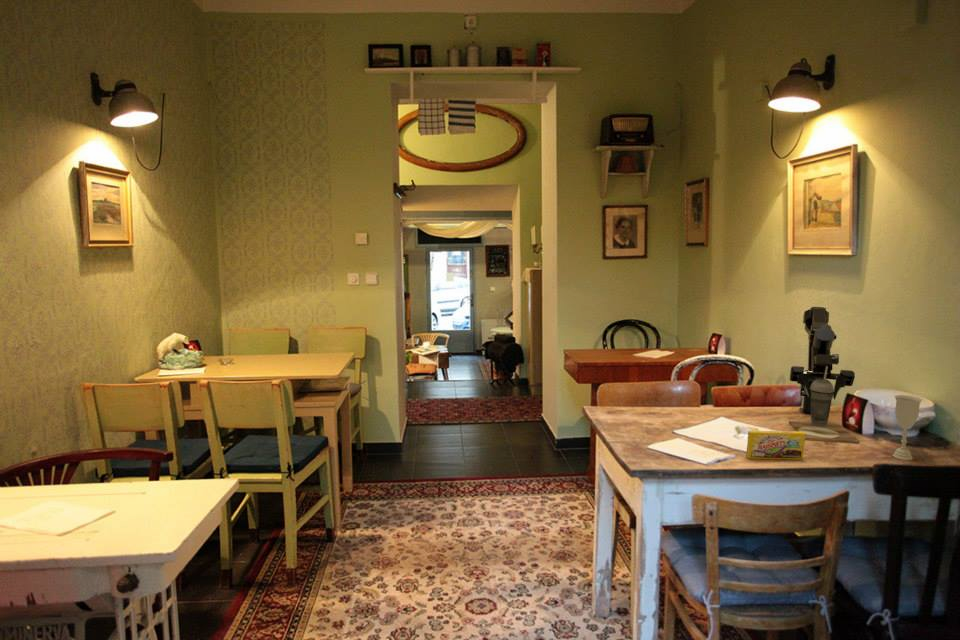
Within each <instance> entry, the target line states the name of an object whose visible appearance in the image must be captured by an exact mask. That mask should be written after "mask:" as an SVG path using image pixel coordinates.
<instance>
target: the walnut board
mask: <svg viewBox="0 0 960 640" xmlns="http://www.w3.org/2000/svg"><path fill="white" fill-rule="evenodd" d="M788 424H789V425H790V426H791V427H792V428H793V429H794V431H802V432H804V433H805V441H813V442H814V441H816V442H829V443H831V442H832V443H845V444H847V443H848V444H860V440H859V439H858V438H857V437H855V436H854V434H852V433H851V432H849V431H848V430H847V429H846V428H844V427H843V426H842V425H841V424H840V423H838V422H837V423H832V422H827V426H826V427H817V426H813V425H811V421H803V420H802V421H801V420H788Z"/></svg>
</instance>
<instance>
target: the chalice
mask: <svg viewBox="0 0 960 640" xmlns="http://www.w3.org/2000/svg"><path fill="white" fill-rule="evenodd" d="M894 398H895V401H896V402H895V411H894V414H895V417H896V420H897V422H898V425H899V427H900V428H901V429H902V430H903V432H902V434H901V436H902V438H901V440H900V442H901V446H900V447H898V448H896V449H895V451H894V453H892V457H893V456H894V458H896V459H900V460H905V461H909V460H910V461H911V460H913V456H912V454H911V451H910V450H909V449H907V447H906V444H907V443H908V440H907V438H908V436H909V435H908V430H909V429H912V427H913V425H914V424H915V423H916V421H917V419H918V418H919V415H920V405H921V402H922V401H923V399H922V398H920V397H918V396H914V395H907V394H906V395H905V394H898V395H895V396H894Z"/></svg>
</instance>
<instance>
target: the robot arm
mask: <svg viewBox="0 0 960 640" xmlns="http://www.w3.org/2000/svg"><path fill="white" fill-rule="evenodd" d="M802 316H803V317H802V323H803V324H804V330H805V332H806V333H807V337H808V339H807V340H808V347H807V348H808V351H807V352H808V353H807V357H808V358H807V369H805V366H799V365H798V366H797V365H793V366H791V368H790V371H789V381H791V382H794V383H795V382H797V384H799V396H800V397H803V398H802V407H799V410H800V411H801V412H802V413H803V414H805V415H806V414H808V415H811V396H810V386H811V384H812V383H813V382H814V381H815V380H817V379H824V375H825V370H826V366H828V369H827V374H826V380H833V381H835V382H834V386H833V388H834V394H833V398H832V399H833V400H836V398H837V396H838V394H839V391H840V390H841V389H842V388H845V387H853V384H854V381H855V377H856V376H855V372H854V371H853V370H851V369H850V370H848V369H840V371H839V373H832V372H833V365H835V366H836V365H839V363H840V354H839V353H832V354H831V349H832V346H833V343H834V342H835V340H837V337H838V335H837V334H836V333H835V331H834V330H833V329H832V326H831V325H830V324H829V322H830V321H829V320H830V312H829V311H827V308H826V307H823V306H811V307H810V308H809V309H807V310H804V312H803V315H802Z"/></svg>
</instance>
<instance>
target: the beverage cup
mask: <svg viewBox="0 0 960 640" xmlns="http://www.w3.org/2000/svg"><path fill="white" fill-rule="evenodd" d="M827 369H828V366H826V370H825V375H824V379H817V380H815V381H814V382H813V383H812V384H811V386H810V396H811V414H810V420H811V421H810V422H811V425H813V426H817V427H826V426H827V423H829V422H828V421H829V417H830V416H829V415H830V412H831V406H832V400H833V399H834V398H833V395H834V385H833V383H832V382H831V381H830V380H829V379H826V374H827Z"/></svg>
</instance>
